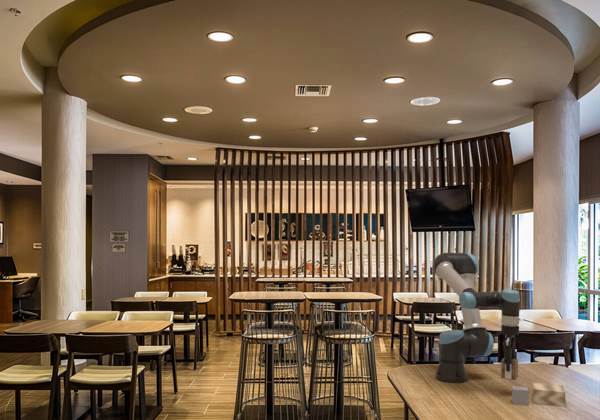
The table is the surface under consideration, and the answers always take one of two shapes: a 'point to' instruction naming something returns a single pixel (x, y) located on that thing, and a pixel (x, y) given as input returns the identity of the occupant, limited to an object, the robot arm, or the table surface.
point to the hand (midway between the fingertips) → (509, 376)
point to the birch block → (548, 394)
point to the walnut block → (514, 369)
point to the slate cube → (520, 395)
